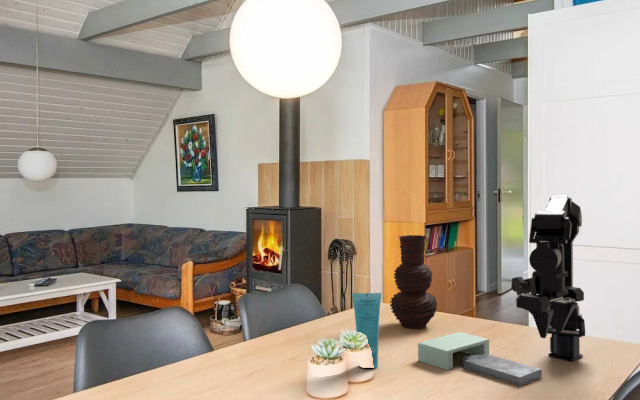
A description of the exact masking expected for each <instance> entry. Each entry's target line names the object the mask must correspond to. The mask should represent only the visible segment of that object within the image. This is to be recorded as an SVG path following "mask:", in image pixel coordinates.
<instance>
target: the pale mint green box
mask: <svg viewBox="0 0 640 400" xmlns="http://www.w3.org/2000/svg"><path fill="white" fill-rule="evenodd" d="M417 351H418V352H417V358H418V359H417V361H418V362H422V363H425V364H428V365H430V366H434V367H438V368H441V369H444V370H446V371H449V370H453V369H454V365H453V363H454V359H453V356H454V355H453V354H455V353H457V352H461V353H465V354H467V355H471V354H479V355H483V354H489V355H490V338H485V337H481V336H478V335H473V334H470V333H466V332H461V331H457V332H454V333H453V332H452V333H449V334H447V335H444V336H439V337H434V338H430V339H427V340H424V341H420V342H419V341H418V342H417Z"/></svg>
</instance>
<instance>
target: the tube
mask: <svg viewBox="0 0 640 400" xmlns="http://www.w3.org/2000/svg"><path fill="white" fill-rule="evenodd" d="M351 296H352V302H353V311H354V320H355V330H356V331H357V332H361V333H363V334H365V335H366V336H367V339H368V344H369V346H370V348H371V351H372V357H373V365H374V369H376V368H378V366H379V331H380V330H379V327H380V326H379V325H380V311H381V310H380V309H381V299H382V293H381V292H367V293H366V292H365V293H364V292H353V293H351ZM356 331H355V332H356Z"/></svg>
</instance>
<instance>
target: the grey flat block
mask: <svg viewBox="0 0 640 400" xmlns="http://www.w3.org/2000/svg"><path fill="white" fill-rule="evenodd" d="M462 366H463V369H464V370H467V371H470V372H473V373H476V374H479V375H483V376H486V377H489V378H493V379H496V380H499V381H502V382H505V383H508V384H512V385H515V386H517V387H521V386H524V385H527V384H528V383H532V382H534V381H536V380H539V379H541V378H542V376H543V375H542V374H543V373H542V368H538V367H536V366H531V365H528V364H524V363H521V362H517V361H515V360H510V359H506V358H503V357H499V356H496V355H492V354H490V353H489V354H483V355H479V354H467V355H465V356H463V357H462Z"/></svg>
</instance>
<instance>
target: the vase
mask: <svg viewBox="0 0 640 400" xmlns="http://www.w3.org/2000/svg"><path fill="white" fill-rule="evenodd" d="M398 238H399V244H400V246H399V249H400V262H401V263H400V264H399V266H398V267H396V269H395V270H394V271H393V272H394V273H393V279H395V280H394V282H395V285H396V288H397V290H399V291H398V292H397V293H396V294H395V293H394V294H393V295H392V297H391V298H390V301H389V302H390V304H389V306H390V309H391V310H392V311H391V313H392V314H393V315H394V317H395V319H396V320H398V322H399V323H400V327H402V328H403V329H407V330H421V329H424V328H425V329H426V328H427V325H428V323H430V321H431V319H433V318H434V316H435V314H436V311H437V309H438V308H437V306H438V302H437V299H436V297H435V296H434V295H433V294H432V293H429V292H427V291H428V290H429V289H430V288H431V284H432V281H433V272H432V270H431V268H430V267H429V266H427V264H425V258H426V257H425V250H426V239H427V236H426V235H420V234H419V235H417V234H416V235H413V234H412V235H411V234H408V235H403V234H402V235H401V236H399V235H398Z"/></svg>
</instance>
